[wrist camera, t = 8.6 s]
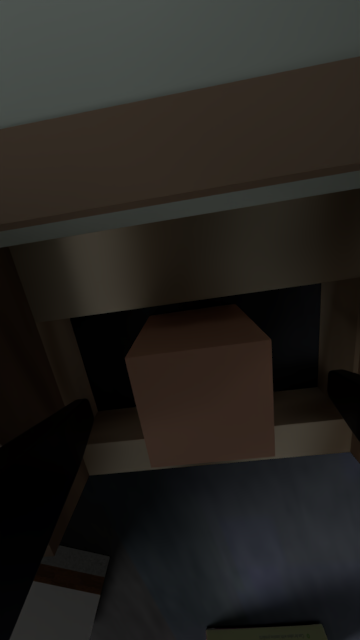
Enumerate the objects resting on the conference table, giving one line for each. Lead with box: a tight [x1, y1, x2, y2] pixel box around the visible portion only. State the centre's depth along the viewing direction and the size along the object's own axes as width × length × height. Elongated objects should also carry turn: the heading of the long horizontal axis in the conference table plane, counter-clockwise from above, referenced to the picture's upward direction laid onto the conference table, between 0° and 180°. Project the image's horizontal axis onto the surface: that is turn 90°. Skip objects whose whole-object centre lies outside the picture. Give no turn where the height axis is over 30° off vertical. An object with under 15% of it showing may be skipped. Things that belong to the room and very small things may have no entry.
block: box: [125, 304, 275, 468], centre depth 10 cm, size 4×4×5 cm
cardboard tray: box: [0, 188, 360, 557], centre depth 8 cm, size 23×18×6 cm
